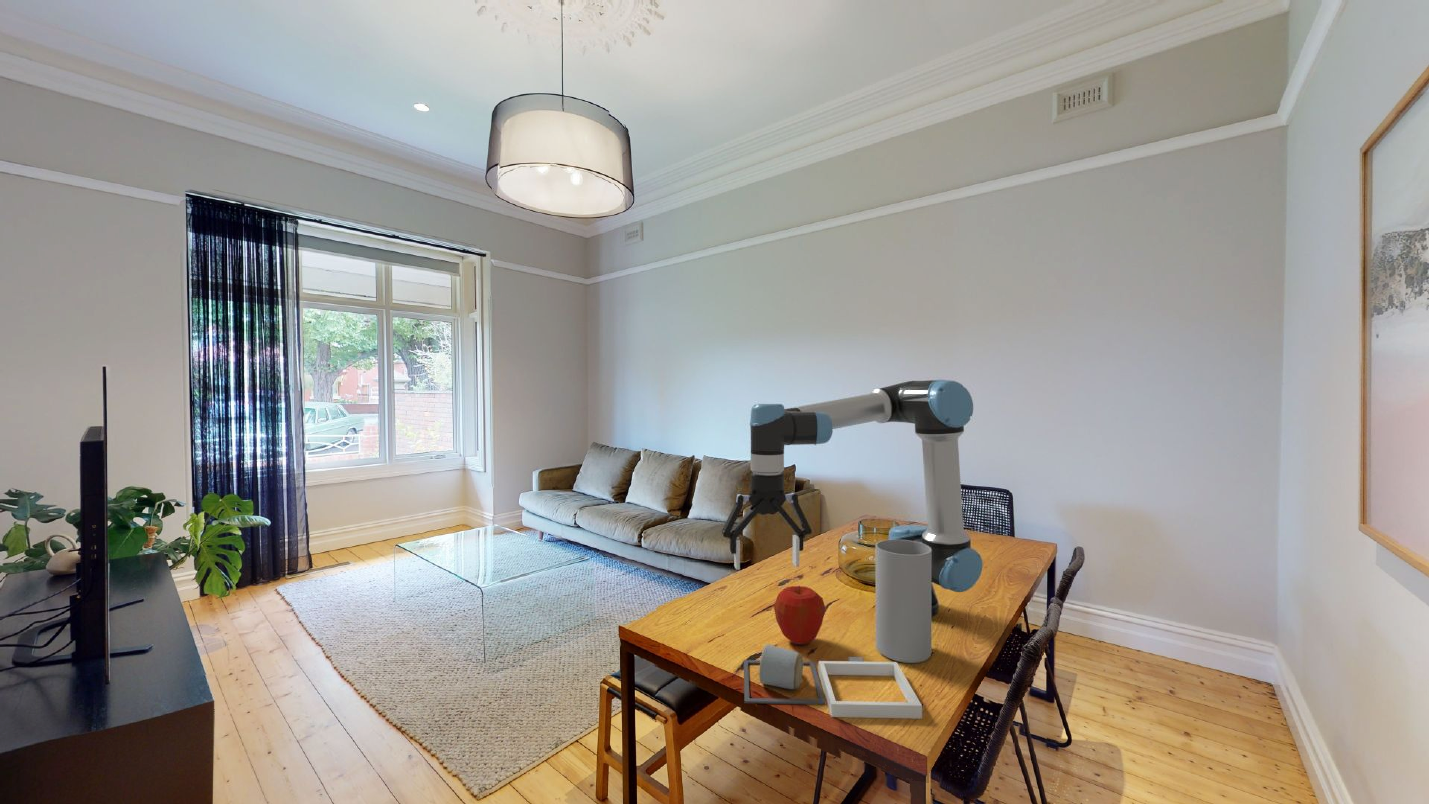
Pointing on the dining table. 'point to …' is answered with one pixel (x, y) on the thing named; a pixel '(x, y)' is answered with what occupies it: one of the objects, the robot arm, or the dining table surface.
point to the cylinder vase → (903, 600)
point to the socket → (869, 708)
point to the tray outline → (783, 701)
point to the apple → (799, 613)
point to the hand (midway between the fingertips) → (766, 566)
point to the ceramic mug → (781, 667)
